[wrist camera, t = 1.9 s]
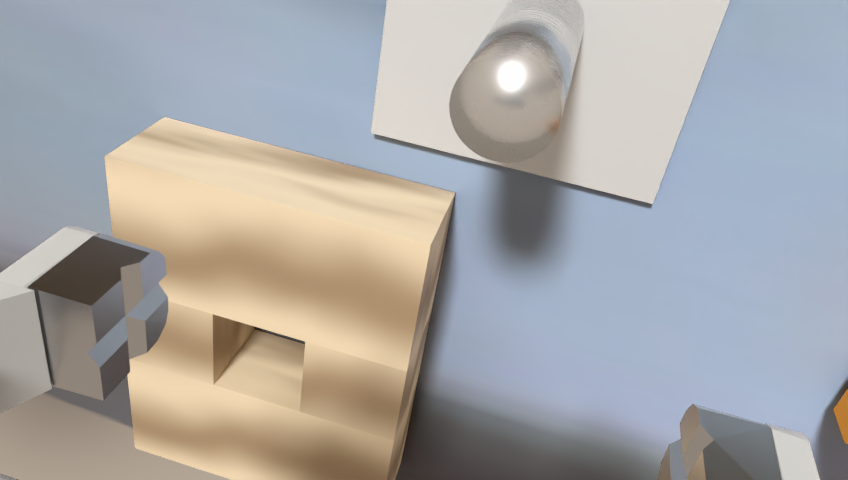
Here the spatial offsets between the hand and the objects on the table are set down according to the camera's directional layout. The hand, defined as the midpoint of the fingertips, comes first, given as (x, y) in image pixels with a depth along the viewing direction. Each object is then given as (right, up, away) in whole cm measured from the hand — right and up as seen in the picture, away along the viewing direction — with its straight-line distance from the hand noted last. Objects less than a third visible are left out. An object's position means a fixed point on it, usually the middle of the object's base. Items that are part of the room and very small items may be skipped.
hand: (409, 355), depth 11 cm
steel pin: (+5, +10, +16) cm, 19 cm away
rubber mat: (+5, +10, +16) cm, 19 cm away
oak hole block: (-6, -2, +26) cm, 27 cm away
